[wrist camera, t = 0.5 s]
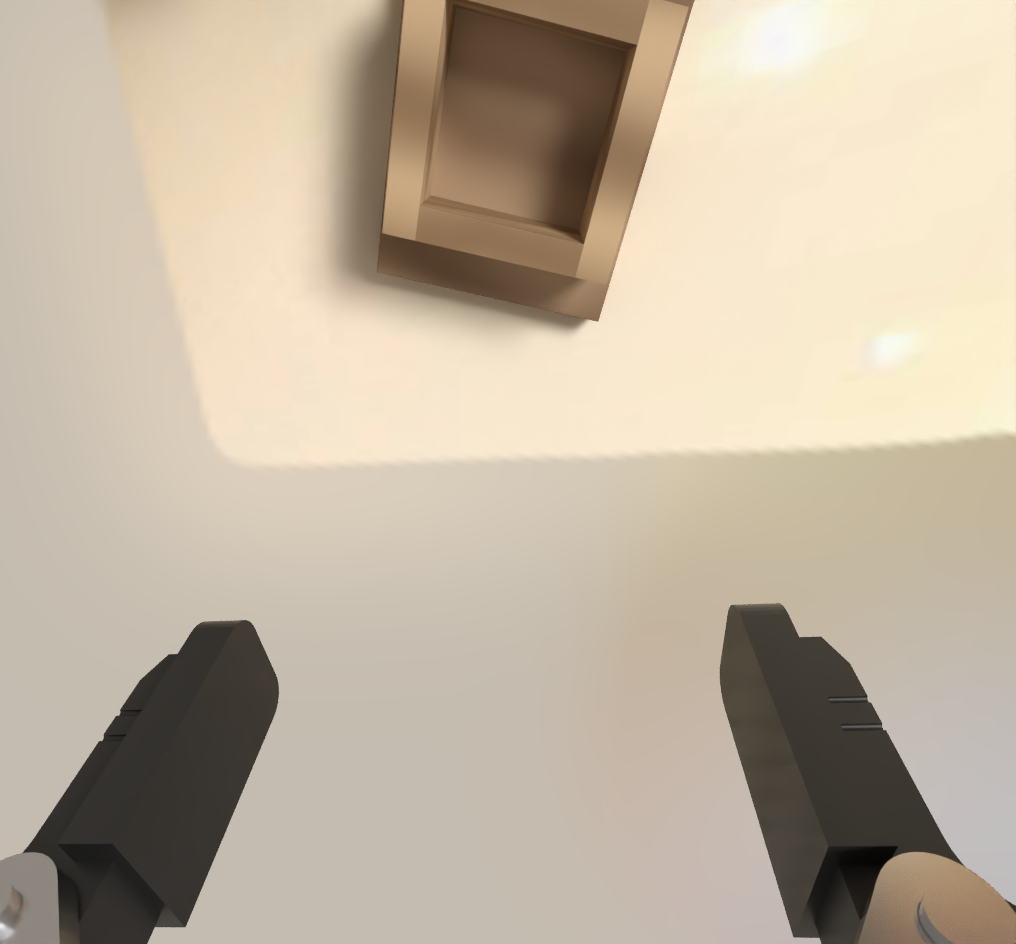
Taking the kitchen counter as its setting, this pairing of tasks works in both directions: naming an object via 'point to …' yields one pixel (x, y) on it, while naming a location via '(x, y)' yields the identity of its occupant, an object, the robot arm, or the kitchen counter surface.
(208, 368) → the kitchen counter surface
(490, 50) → the wooden box
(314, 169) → the kitchen counter surface
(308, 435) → the kitchen counter surface
